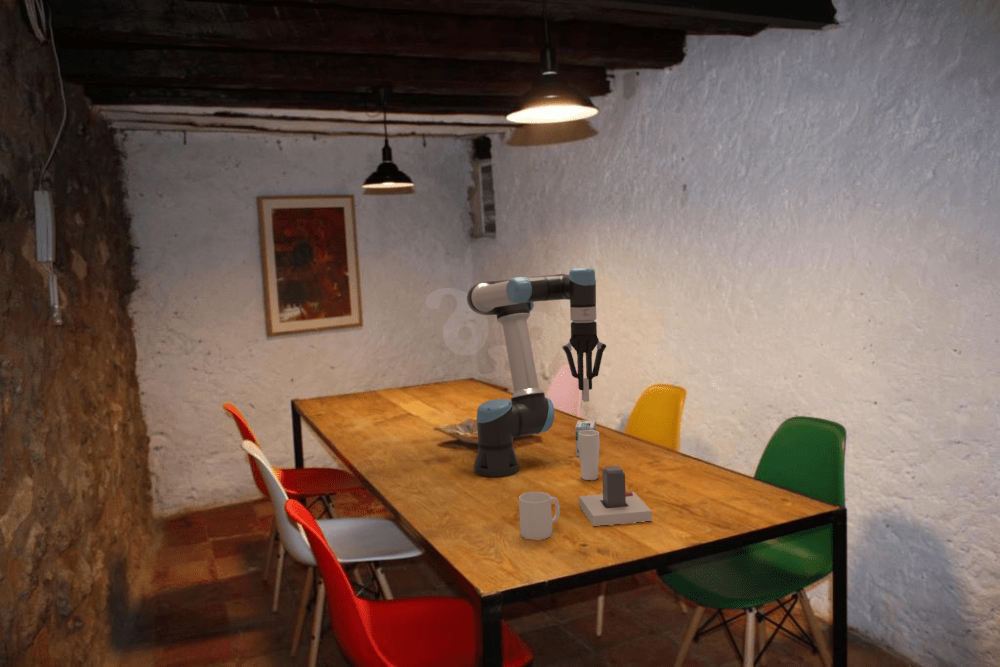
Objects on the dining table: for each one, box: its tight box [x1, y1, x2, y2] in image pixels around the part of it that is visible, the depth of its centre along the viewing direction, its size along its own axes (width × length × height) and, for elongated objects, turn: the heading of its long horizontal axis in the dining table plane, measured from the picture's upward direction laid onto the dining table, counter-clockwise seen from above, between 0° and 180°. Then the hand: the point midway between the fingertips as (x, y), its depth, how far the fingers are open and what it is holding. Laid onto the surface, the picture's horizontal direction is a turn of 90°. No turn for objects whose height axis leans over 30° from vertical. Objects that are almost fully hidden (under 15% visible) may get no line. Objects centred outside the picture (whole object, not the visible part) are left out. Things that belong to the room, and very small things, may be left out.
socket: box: [578, 490, 653, 527], centre depth 206 cm, size 16×16×4 cm
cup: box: [518, 491, 561, 541], centre depth 194 cm, size 8×12×10 cm
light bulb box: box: [574, 419, 597, 457], centre depth 267 cm, size 11×7×11 cm, turn 168°
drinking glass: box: [578, 430, 601, 481], centre depth 237 cm, size 7×7×15 cm
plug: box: [601, 465, 626, 508], centre depth 205 cm, size 5×5×13 cm
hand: (585, 400), depth 220 cm, fingers closed
